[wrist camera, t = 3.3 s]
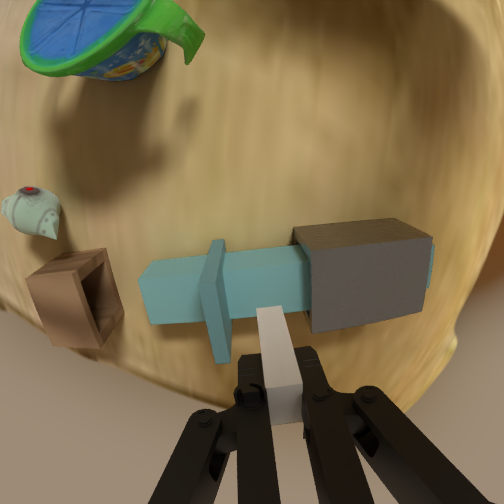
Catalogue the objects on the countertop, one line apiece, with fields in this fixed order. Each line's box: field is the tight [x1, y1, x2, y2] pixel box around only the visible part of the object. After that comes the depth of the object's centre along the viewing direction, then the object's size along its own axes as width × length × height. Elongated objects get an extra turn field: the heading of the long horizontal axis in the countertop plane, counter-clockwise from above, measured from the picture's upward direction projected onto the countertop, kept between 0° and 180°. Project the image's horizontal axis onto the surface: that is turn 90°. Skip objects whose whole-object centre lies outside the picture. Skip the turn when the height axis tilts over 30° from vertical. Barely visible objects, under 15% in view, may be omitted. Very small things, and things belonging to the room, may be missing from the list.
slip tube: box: [138, 239, 435, 364], centre depth 21 cm, size 6×24×9 cm, turn 96°
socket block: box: [25, 248, 124, 349], centre depth 22 cm, size 7×6×6 cm
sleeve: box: [293, 218, 433, 334], centre depth 22 cm, size 7×10×6 cm, turn 96°
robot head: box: [1, 187, 60, 240], centre depth 19 cm, size 8×4×7 cm, turn 69°
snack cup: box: [20, 0, 205, 81], centre depth 13 cm, size 16×10×10 cm
